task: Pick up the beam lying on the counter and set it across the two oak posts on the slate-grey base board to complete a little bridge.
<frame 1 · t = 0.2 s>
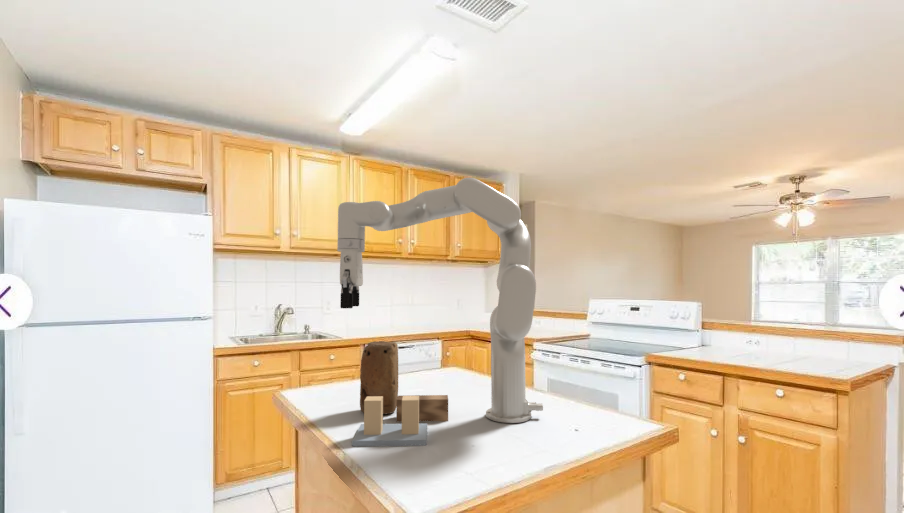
hand: (350, 307, 124), 31 cm above the counter, tool pointing down, fingers open, 9 cm apart
beam: (422, 419, 122), on the counter
base: (391, 436, 108), on the counter
brown rounded lump: (378, 412, 129), on the counter
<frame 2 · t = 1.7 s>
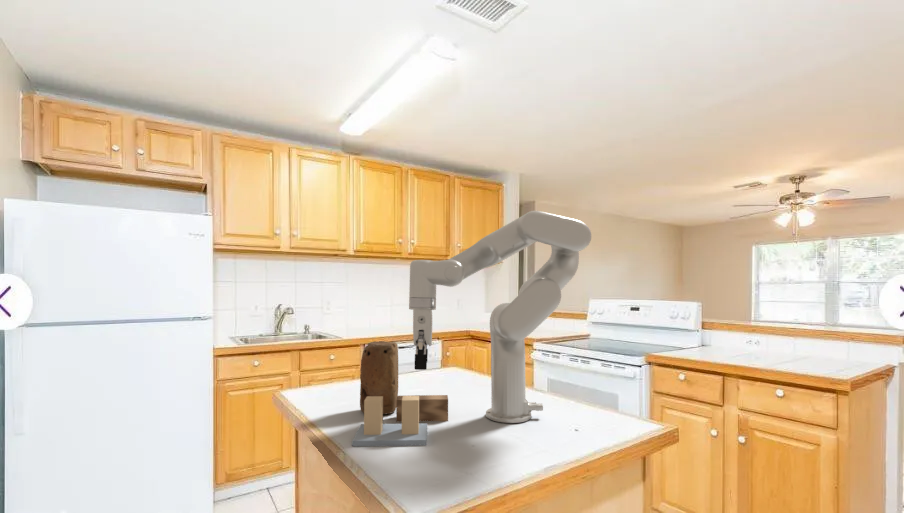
hand: (421, 365, 123), 14 cm above the counter, tool pointing down, fingers open, 9 cm apart
nothing on the counter moved.
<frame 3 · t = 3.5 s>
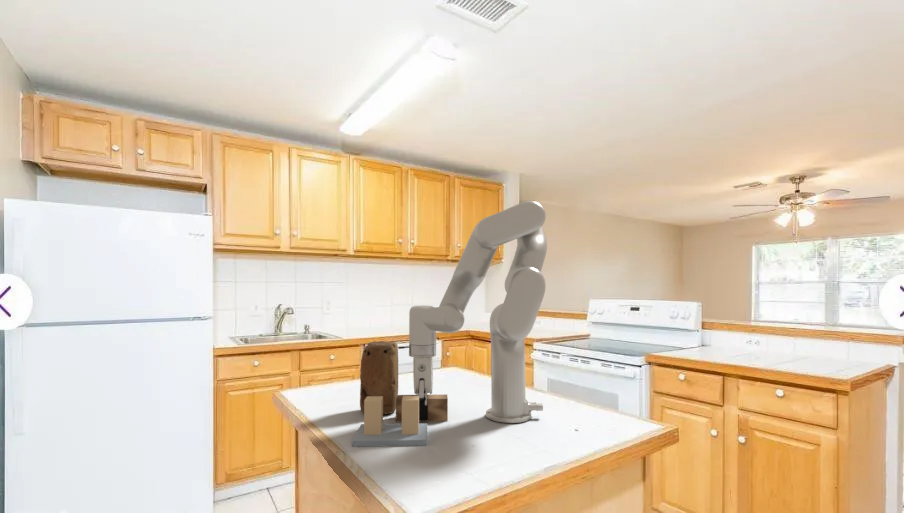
hand: (422, 416, 122), 1 cm above the counter, tool pointing down, fingers closed on beam, 4 cm apart
beam: (422, 418, 122), on the counter, touching gripper
everything else where it was.
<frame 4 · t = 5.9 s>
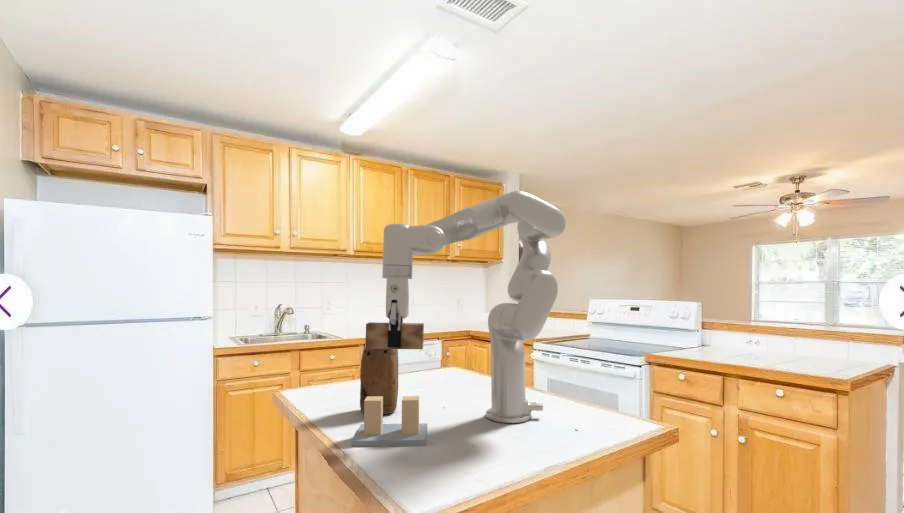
hand: (395, 345, 111), 22 cm above the counter, tool pointing down, fingers closed on beam, 4 cm apart
beam: (394, 347, 111), point 21 cm above the counter, touching gripper
everything else where it was.
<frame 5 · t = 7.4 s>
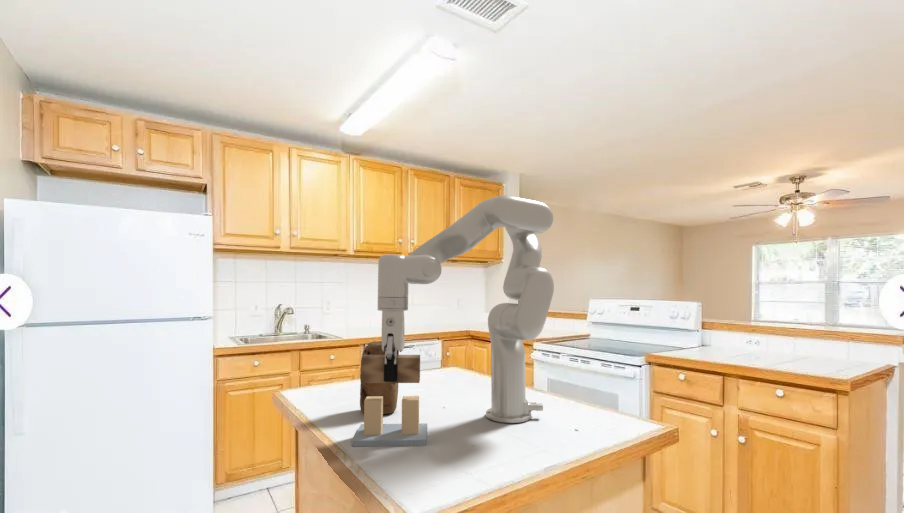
hand: (391, 378, 109), 14 cm above the counter, tool pointing down, fingers closed on beam, 4 cm apart
beam: (391, 380, 109), point 13 cm above the counter, touching gripper
everything else where it was.
when the fingers open (11 cm above the counter, at t = 8.3 s): beam drops 1 cm, resting on base.
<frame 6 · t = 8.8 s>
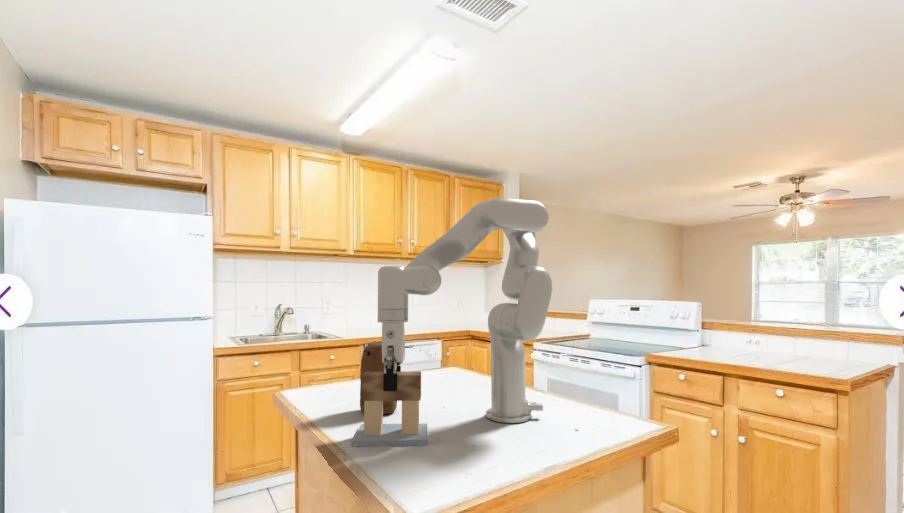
hand: (392, 386, 109), 12 cm above the counter, tool pointing down, fingers open, 9 cm apart
beam: (392, 398, 109), point 9 cm above the counter, touching base
everything else where it was.
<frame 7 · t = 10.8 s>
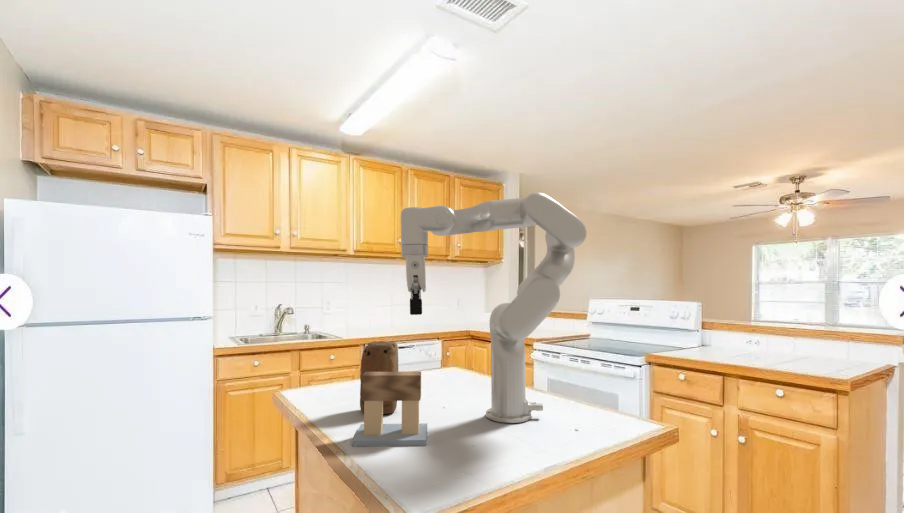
hand: (415, 313, 123), 29 cm above the counter, tool pointing down, fingers open, 9 cm apart
nothing on the counter moved.
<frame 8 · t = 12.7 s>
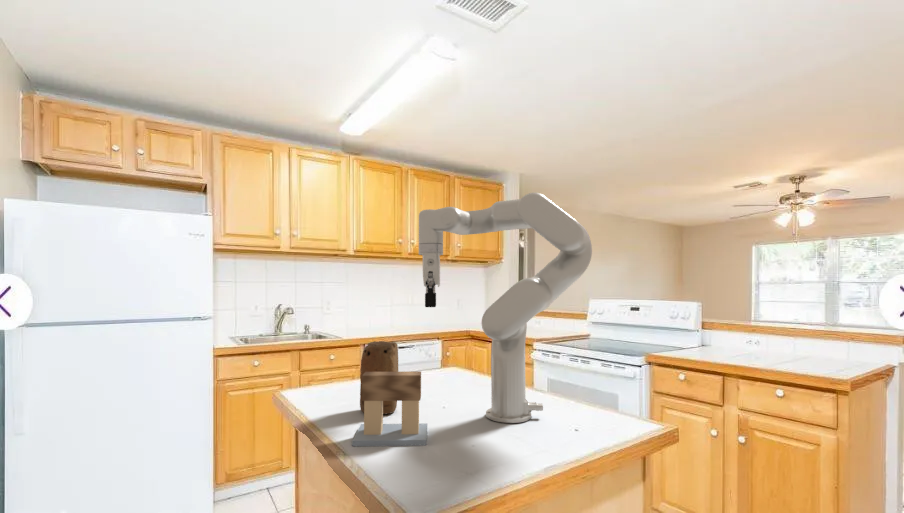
hand: (430, 306, 135), 30 cm above the counter, tool pointing down, fingers open, 9 cm apart
nothing on the counter moved.
at the end: beam 0.0 cm off-centre on the base, point 9.2 cm above the base's base; beam tilted 0°; the gripper is holding nothing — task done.
